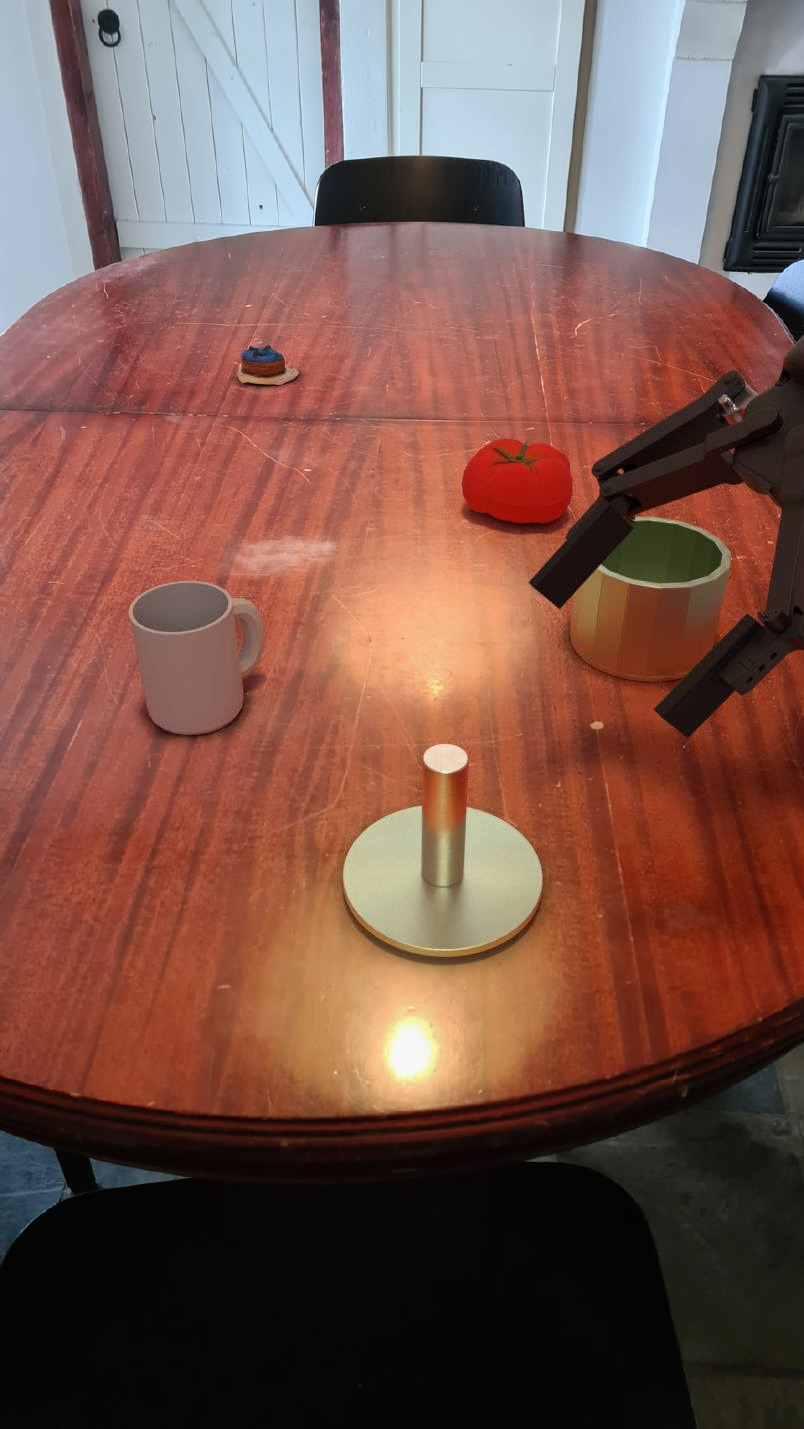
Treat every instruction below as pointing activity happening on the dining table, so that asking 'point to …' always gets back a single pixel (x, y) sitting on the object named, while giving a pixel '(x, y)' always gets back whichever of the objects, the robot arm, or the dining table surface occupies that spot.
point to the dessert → (264, 367)
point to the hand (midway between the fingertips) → (601, 655)
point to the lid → (442, 870)
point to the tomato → (518, 481)
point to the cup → (194, 654)
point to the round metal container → (652, 602)
